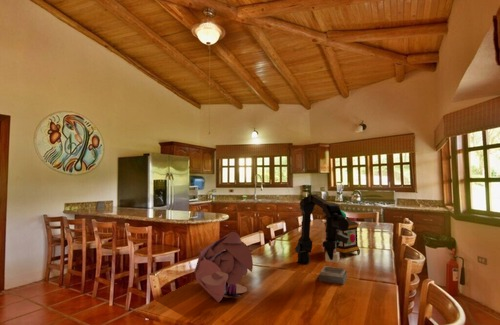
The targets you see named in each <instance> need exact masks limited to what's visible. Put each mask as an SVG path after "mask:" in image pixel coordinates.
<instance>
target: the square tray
mask: <svg viewBox="0 0 500 325" xmlns="http://www.w3.org/2000/svg"><path fill="white" fill-rule="evenodd" d="M347 273H348V271H346V268H343V267H337V266H336V267H335V266H327V265H324V266H323V267H322V268H321V270H320V272H319V274H318V281H319V282H322V283H323V282H324V283H330V284H335V285H336V284H337V285H343V286H344V284H345V283H346V280H347V278H348V274H347Z"/></svg>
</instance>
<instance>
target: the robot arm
mask: <svg viewBox="0 0 500 325" xmlns="http://www.w3.org/2000/svg"><path fill="white" fill-rule="evenodd" d="M315 206H317V207H319V208H320V209H322V213H324V214H325V215H324V216H323V218H324V219H325V222H326V227H325V239H324V241H323V242H322V244H321V245H322V248H323V249H324V248H325V249H326V251H327V254H328V256H329V258H330V260H333V253H334V249H336V248H337V246H338V245H339V244H340V243H339V242H343V243H345V244H347V243H348V240H349V238H350V237H349V236H348V233H346V232H345V233H344V234H342V233H339V230H342V231H346V230H347V229H348V227H349V223H348V221H347V220H345V217H343V215H342V212H341V211H342V210H341V208H340V206H339V205H338V203H335V202H330V201H327V200H326V199H324V198H322V197H321V196H319V195H318V194H316V193H314V194H313V193H312V194H309V195H308V196H306V197H304V198H302V199H301V200H300V201H299V209H300V212H302V215H301V216H302V218H301V220H302V221H301V236H300V237H299V239H298V241H297V245H296V246H295V248H294V250H295V253H297V262H296V263H297V264H303V265H308V264H309V263H310V262H311V255H310V253H312V250H313V240H311V238H310V234H311V233H310V231H311V216H312V213H313V212H314V210H315V209H314V208H315ZM337 241H339V242H337Z"/></svg>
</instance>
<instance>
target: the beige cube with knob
mask: <svg viewBox="0 0 500 325" xmlns="http://www.w3.org/2000/svg"><path fill="white" fill-rule="evenodd" d="M324 254H325V255H324V256H325V262H330V263H337V264H338V263H339V261H340V259H341V258H340V253H339V252H336V249H334V253H333V260H330V258H329V256H328V254H327V252H326V253H325V252H324Z"/></svg>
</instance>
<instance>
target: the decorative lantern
mask: <svg viewBox="0 0 500 325" xmlns="http://www.w3.org/2000/svg"><path fill="white" fill-rule="evenodd" d="M341 212H342V215H343V217H345V220H347V221H348V223H349V227H348V229H347V230H346V231H342V230H339V233H342V234H344V233H345V232H346V233H348V236H349V237H350V238H349V240H348V243H347V244H345V243H343V242H339V241H337V242H339V243H340V244H339V245H338V246H337V248H336V252H339V254H342V257H343V258H344V259H345V258H346V254H350V253H353V252H356V254H357V255H361V254H360V253H361V249H360V247H359V245H358V227H359V223H358V222H356V221H355V220H352V219H351V218H349V217H347V213H346V212H344V211H343V210H341ZM323 224H324V225H323V226H324V227H325V228H326V221H325V222H324V223H323ZM323 250H324V251H323V252H324V254H325V253H326V252H327V251H326V249H325V248H324V247H323Z"/></svg>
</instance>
